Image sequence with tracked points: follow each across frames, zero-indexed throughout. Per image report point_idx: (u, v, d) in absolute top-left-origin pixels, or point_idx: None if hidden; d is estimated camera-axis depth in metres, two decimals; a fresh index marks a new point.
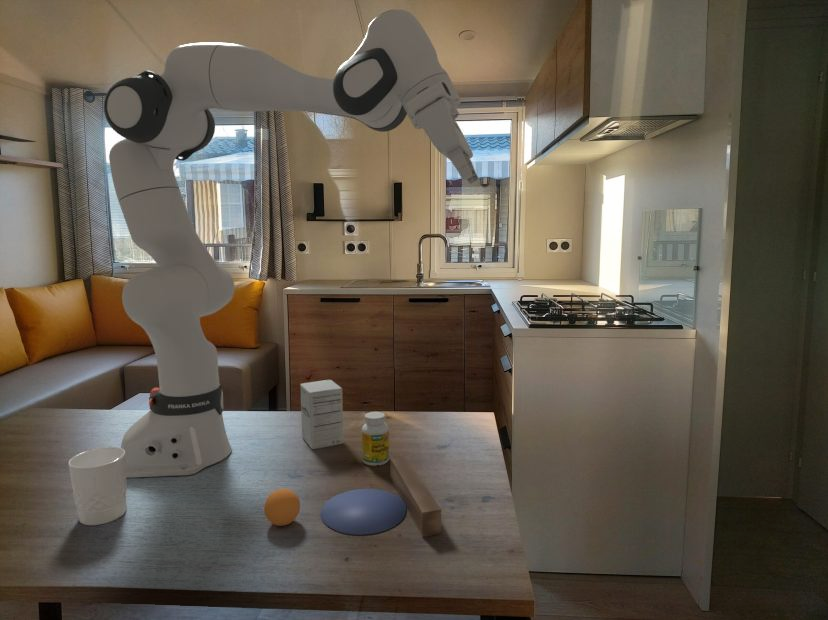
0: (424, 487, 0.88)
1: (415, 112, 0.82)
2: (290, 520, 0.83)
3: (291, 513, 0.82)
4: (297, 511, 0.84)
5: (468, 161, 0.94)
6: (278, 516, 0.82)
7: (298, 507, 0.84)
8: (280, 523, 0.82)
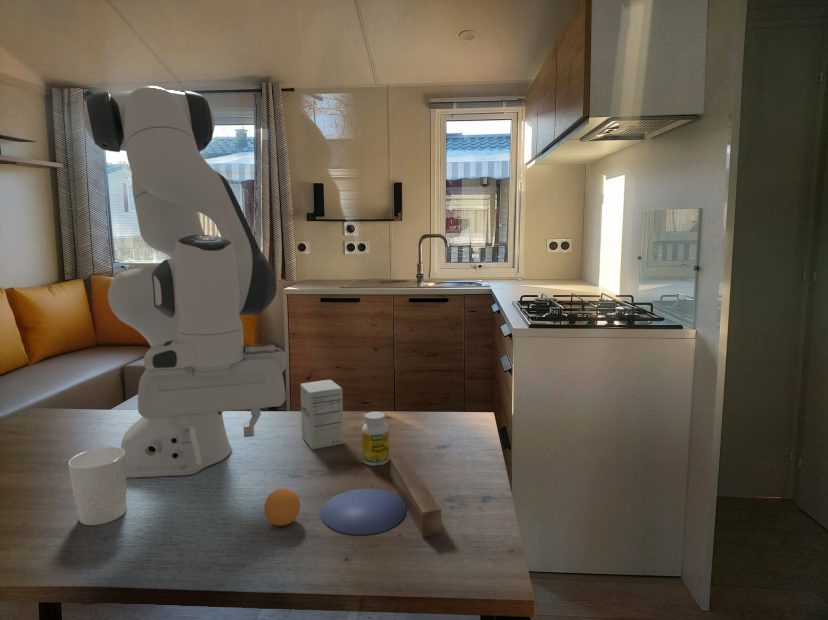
0: (424, 487, 0.88)
1: None
2: (290, 520, 0.83)
3: (291, 513, 0.82)
4: (297, 511, 0.84)
5: (251, 413, 0.80)
6: (278, 516, 0.82)
7: (298, 507, 0.84)
8: (280, 523, 0.82)
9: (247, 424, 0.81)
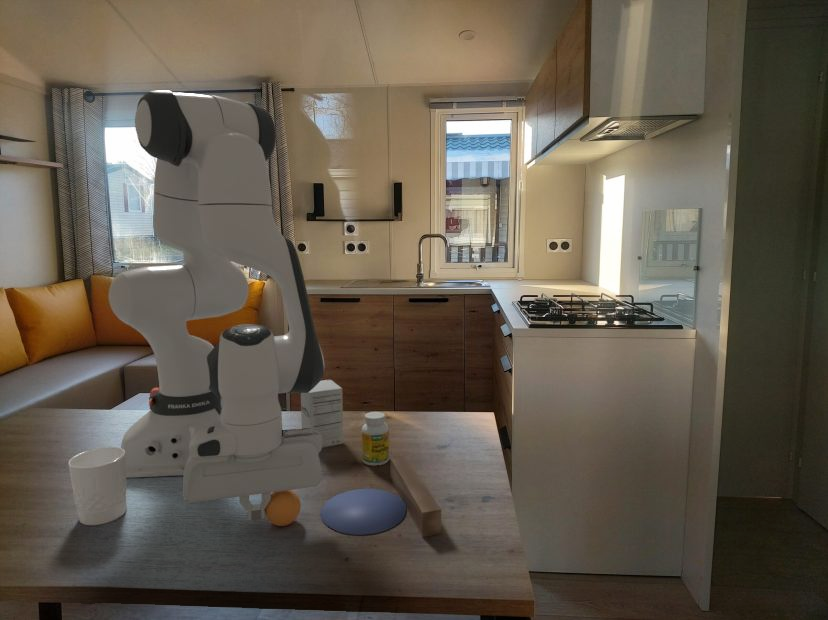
0: (424, 487, 0.88)
1: None
2: (290, 520, 0.83)
3: (291, 514, 0.82)
4: (298, 512, 0.84)
5: (262, 496, 0.82)
6: (279, 516, 0.82)
7: (299, 508, 0.84)
8: (280, 523, 0.82)
9: (258, 507, 0.83)
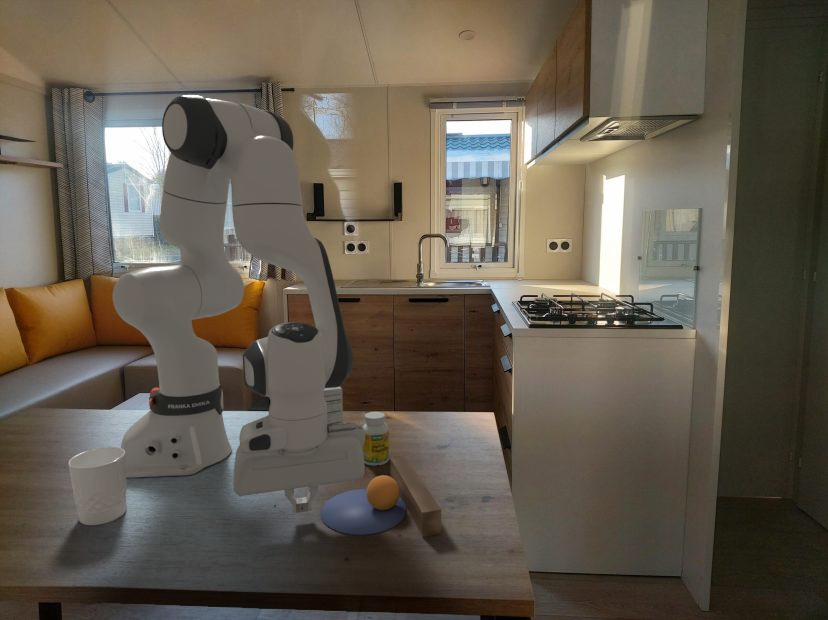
0: (424, 487, 0.88)
1: None
2: (394, 491, 0.87)
3: (387, 491, 0.86)
4: (388, 483, 0.87)
5: (309, 489, 0.84)
6: (387, 503, 0.86)
7: (385, 481, 0.87)
8: (394, 501, 0.87)
9: (305, 499, 0.85)
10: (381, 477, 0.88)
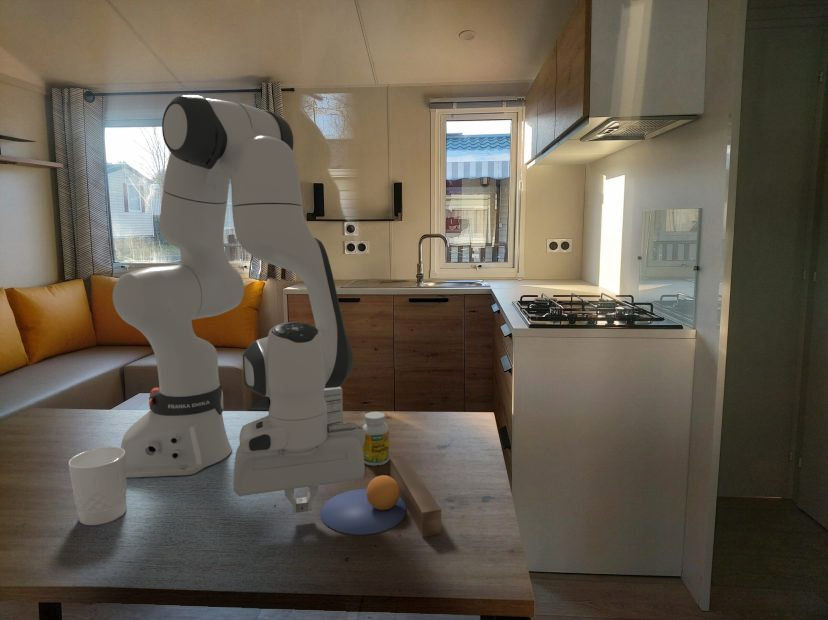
0: (424, 487, 0.88)
1: None
2: (394, 491, 0.87)
3: (387, 491, 0.86)
4: (388, 483, 0.87)
5: (309, 489, 0.84)
6: (387, 503, 0.86)
7: (385, 481, 0.87)
8: (394, 501, 0.87)
9: (305, 499, 0.85)
10: (381, 477, 0.88)
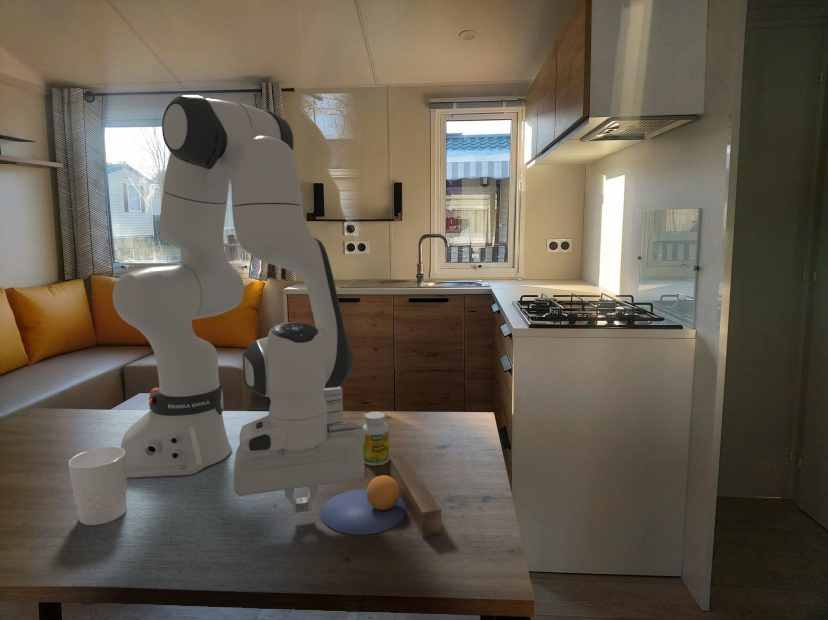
0: (424, 487, 0.88)
1: None
2: (394, 491, 0.87)
3: (387, 491, 0.86)
4: (388, 483, 0.87)
5: (309, 489, 0.84)
6: (387, 503, 0.86)
7: (385, 481, 0.87)
8: (394, 501, 0.87)
9: (305, 499, 0.85)
10: (381, 477, 0.88)
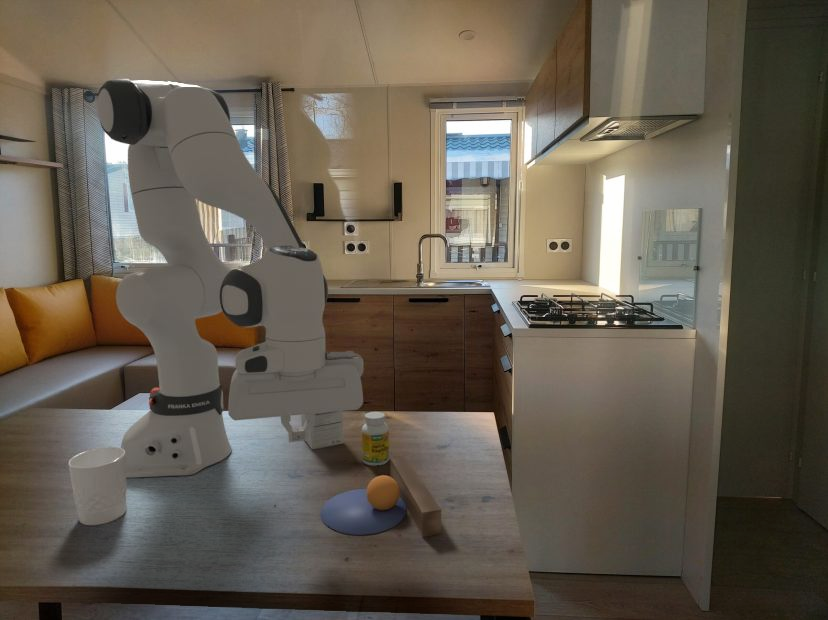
0: (424, 487, 0.88)
1: None
2: (394, 491, 0.87)
3: (387, 491, 0.86)
4: (388, 483, 0.87)
5: None
6: (387, 503, 0.86)
7: (385, 481, 0.87)
8: (394, 501, 0.87)
9: (301, 429, 0.83)
10: (381, 477, 0.88)
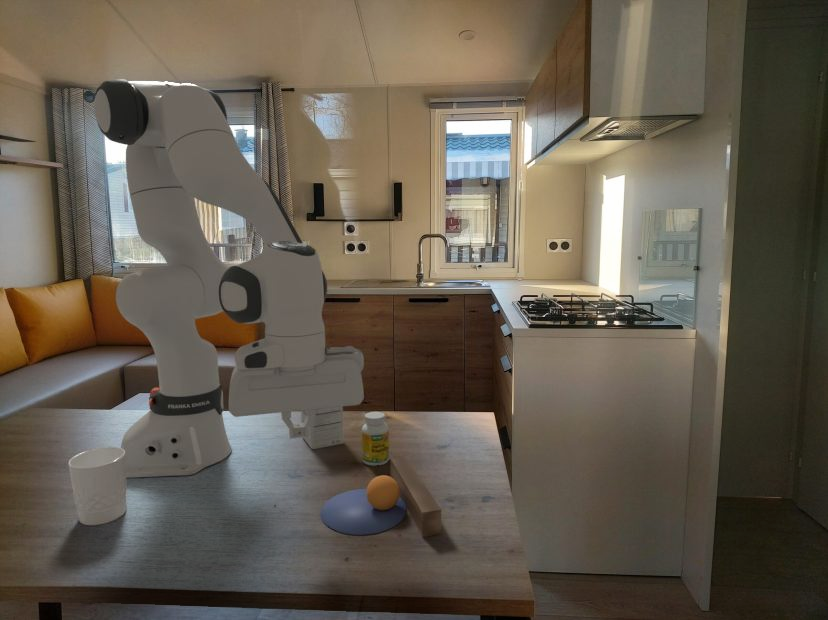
0: (424, 487, 0.88)
1: None
2: (394, 491, 0.87)
3: (387, 491, 0.86)
4: (388, 483, 0.87)
5: None
6: (387, 503, 0.86)
7: (385, 481, 0.87)
8: (394, 501, 0.87)
9: (302, 425, 0.83)
10: (381, 477, 0.88)
